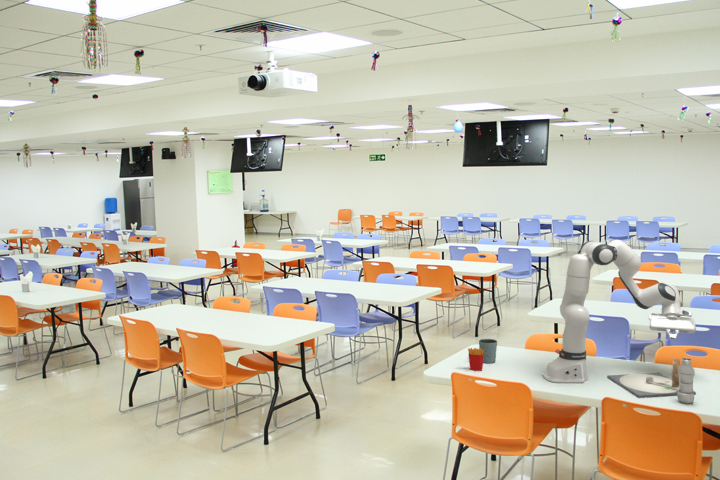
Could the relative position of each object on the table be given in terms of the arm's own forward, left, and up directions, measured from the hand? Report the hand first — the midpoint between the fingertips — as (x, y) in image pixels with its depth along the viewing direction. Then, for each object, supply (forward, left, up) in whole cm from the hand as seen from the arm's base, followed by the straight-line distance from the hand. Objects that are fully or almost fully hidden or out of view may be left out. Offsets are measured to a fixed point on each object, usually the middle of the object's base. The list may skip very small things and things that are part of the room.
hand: (672, 338), depth 280 cm
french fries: (-89, +34, -22) cm, 98 cm away
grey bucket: (-78, +47, -22) cm, 94 cm away
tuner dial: (-13, -3, -22) cm, 26 cm away
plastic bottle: (-10, -25, -22) cm, 35 cm away
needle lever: (-10, -8, -20) cm, 24 cm away
